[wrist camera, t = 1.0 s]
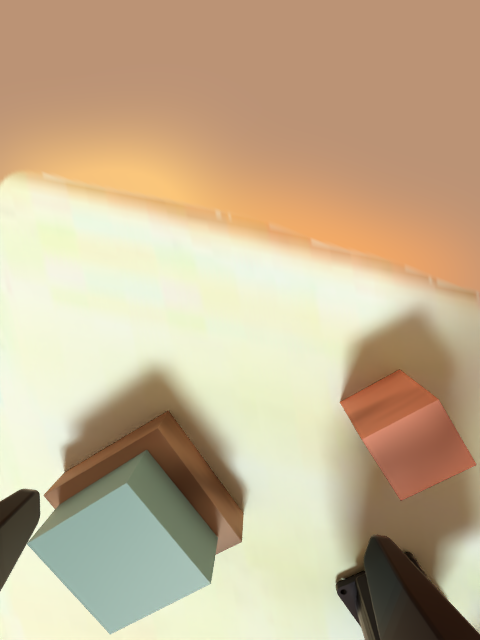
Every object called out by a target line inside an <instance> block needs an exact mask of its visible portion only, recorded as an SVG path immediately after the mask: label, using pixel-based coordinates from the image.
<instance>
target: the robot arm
mask: <svg viewBox="0 0 480 640" xmlns="http://www.w3.org/2000/svg"><path fill="white" fill-rule="evenodd" d="M39 518H40V495H39V492H38V491H37V490H31V489H21V490H19V491H17V492H15V493H14V494H12V495H10V496H9V497H7V498H5V499H4V500H2V501H0V591H1V589H2V587H3V586H4V584H5V582H6V580H7V579H8V577H9V575H10V573H11V571H12V569H13V568H14V566H15V564H16V562H17V560H18V558H19V557H20V555H21V553H22V551H23V549H24V548H25V546H26V544H27V542H28V540H29V538H30V537H31V535H32V533H33V531H34V529H35V528H36V526H37V524H38V521H39ZM364 568H365V571H363V572H360V573H358V574H356V575H354V576H351V577H349V578H347V579H345V580H342V581H340V582H338V583H337V584H336V590H337V594H338V595H339V597H340V598H341V600H342V601H343V602H344V604H345V605H346V607H347V608H348V609H349V611H350V612H351V614H352V615H353V616H354V618H355V619H356V621H357V622H358V623H359V625H360V626H361V628H362V631H363V635H364V638H365V640H480V634H479V633H478V632H477V631H476V630H475V628H474V627H473V626H472V625H471V624H470V623H469V622H468V621H467V620H466V619H465V618H464V617H463V616H462V615H461V614H460V613H459V611H458V610H457V609H456V608H455V607H454V606H453V605H452V604H451V603H450V602H449V601H448V600H447V599H446V598H445V597H444V595H443V594H442V593H441V592H440V591H439V590H438V589H437V588H436V587H435V586H434V585H433V584H432V583H431V582H430V581H429V579H428V577H427V576H426V574H425V573H424V571H423V570H422V568H421V567H420V565H419V564H418V562H417V560H416V559H415V557H414V556H413V555H412V554H411V553H403V552H402V551H401V550H400V549H399V548H398V547H397V545H396V544H395V543H394V542H393V541H392V540H391V539H390V538H388V537H387V536H381V535H372V536H371V538H370V541H369V544H368V547H367V550H366V553H365V556H364Z"/></svg>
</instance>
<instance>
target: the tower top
mask: <svg viewBox="0 0 480 640" xmlns="http://www.w3.org/2000/svg"><path fill="white" fill-rule="evenodd" d="M217 541H218V537H217V536H216V534H215V533H214V532H213V531H212V530H211V528H210V527H209V526H208V525H207V523H206V522H205V521H204V520H203V518H202V517H201V516H200V515H199V513H198V512H197V511H196V510H195V509H194V507H193V506H192V505H191V504H190V502H189V501H188V500H187V499H186V497H185V496H184V495H183V494H182V492H181V491H180V490H179V489H178V487H177V486H176V485H175V484H174V483H173V481H172V480H171V479H170V478H169V476H168V475H167V474H166V473H165V471H164V470H163V469H162V468H161V466H160V465H159V464H158V463H157V462H156V460H155V459H154V458H153V457H152V455H151V454H150V453H149V452H148V450H145V451H144V452H142V453H140V454H139V455H137V456H136V457H134V458H132V459H131V460H129V461H128V462H126V463H124V464H123V465H121V466H120V467H118V468H116V469H115V470H113V471H112V472H110V473H109V474H107V475H105V476H104V477H102V478H101V479H99V480H97V481H96V482H94V483H93V484H91V485H89V486H88V487H86V488H85V489H83V490H82V491H80V492H78V493H77V494H75V495H74V496H72V497H71V498H69V499H67V500H66V501H64V502H63V503H61V504H59V506H58V507H57V508H56V509H55V510H54V512H53V513H52V514H51V515H50V516H49V518H48V519H47V520H46V521H45V523H44V524H43V525H42V526H41V527H40V529H39V530H38V531H37V532H36V533H35V535H34V536H33V537H32V538H31V539H30V541H29V542H28V543H27V545H28V546H29V547H30V548H31V549H32V550H33V551H34V552H35V553H36V554H37V555H38V557H39V558H40V559H41V560H42V561H43V562H44V563H45V564H46V565H47V566H48V567H49V568H50V570H51V571H52V572H53V573H54V574H55V575H56V576H57V577H58V578H59V579H60V580H61V582H62V583H63V584H64V585H65V586H66V587H67V588H68V589H69V590H70V591H71V592H72V593H73V595H74V596H75V597H76V598H77V599H78V600H79V601H80V602H81V603H82V604H83V605H84V607H85V608H86V609H87V610H88V611H89V612H90V613H91V614H92V615H93V616H94V617H95V618H96V620H97V621H98V622H99V623H100V624H101V625H102V626H103V627H104V628H105V629H106V630H107V632H108V633H109V634H112V633H114V632H116V631H118V630H120V629H122V628H124V627H126V626H128V625H130V624H132V623H134V622H136V621H138V620H140V619H142V618H144V617H146V616H148V615H150V614H152V613H154V612H156V611H158V610H160V609H162V608H164V607H166V606H168V605H170V604H172V603H174V602H176V601H177V600H179V599H181V598H183V597H185V596H187V595H189V594H191V593H193V592H195V591H197V590H199V589H201V588H203V587H205V586H207V585H209V584H211V579H212V573H213V567H214V560H215V554H216V548H217Z"/></svg>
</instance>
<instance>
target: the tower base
mask: <svg viewBox="0 0 480 640" xmlns="http://www.w3.org/2000/svg"><path fill="white" fill-rule="evenodd" d="M145 450H148V452H149V453H150V454H151V455H152V457H153V458H154V459H155V460H156V462H157V463H158V464H159V465H160V466H161V468H162V469H163V470H164V471H165V473H166V474H167V475H168V476H169V478H170V479H171V480H172V481H173V483H174V484H175V485H176V486H177V487H178V489H179V490H180V491H181V492H182V494H183V495H184V496H185V497H186V499H187V500H188V501H189V502H190V504H191V505H192V506H193V507H194V509H195V510H196V511H197V512H198V513H199V515H200V516H201V517H202V518H203V520H204V521H205V522H206V523H207V525H208V526H209V527H210V528H211V530H212V531H213V532H214V533H215V534H216V536H217V537H218V541H217V548H216V554H218V553H220V552H222V551H224V550H226V549H228V548H230V547H232V546H234V545H236V544H239V543H241V542H242V530H243V512H242V511H241V509H240V508H239V507H238V505H237V504H236V503H235V501H234V500H233V498H232V497H231V496H230V494H229V493H228V492H227V490H226V489H225V488H224V486H223V485H222V483H221V482H220V481H219V479H218V478H217V477H216V475H215V474H214V472H213V471H212V470H211V468H210V467H209V466H208V464H207V463H206V461H205V460H204V459H203V457H202V456H201V455H200V453H199V452H198V450H197V449H196V448H195V446H194V445H193V444H192V442H191V441H190V439H189V438H188V437H187V435H186V434H185V433H184V431H183V430H182V428H181V427H180V426H179V424H178V423H177V422H176V420H175V419H174V418H173V416H172V415H171V413H170V412H169V411H167V412H165V413H163V414H162V415H160V416H158V417H157V418H155V419H153V420H152V421H150V422H148V423H147V424H145V425H143V426H142V427H140V428H138V429H137V430H135V431H133V432H131V433H130V434H128V435H126V436H125V437H123V438H121V439H120V440H118V441H116V442H115V443H113V444H111V445H110V446H108V447H106V448H105V449H103V450H101V451H100V452H98V453H96V454H95V455H93V456H91V457H89V458H88V459H86V460H84V461H83V462H81V463H79V464H78V465H76V466H74V467H73V468H71V469H69V470H68V471H66V472H64V474H63V475H62V476H61V477H60V478H59V479H58V480H57V481H56V482H55V483H54V484H53V486H52V487H51V488H50V489H49V490H48V491H47V492H46V493H45V494H44V496H45V498H46V499H47V500H48V501H49V502H50V504H51V505H52V506H53V507H54V508H55V509H56V508H57V507H58V506H59V504H61V503H63V502H64V501H66V500H67V499H69V498H71V497H72V496H74V495H75V494H77V493H78V492H80V491H82V490H83V489H85V488H86V487H88V486H89V485H91V484H93V483H94V482H96V481H97V480H99V479H101V478H102V477H104V476H105V475H107V474H109V473H110V472H112V471H113V470H115V469H116V468H118V467H120V466H121V465H123V464H124V463H126V462H128V461H129V460H131V459H132V458H134V457H136V456H137V455H139V454H140V453H142V452H144V451H145ZM216 554H215V555H216Z"/></svg>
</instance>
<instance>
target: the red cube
mask: <svg viewBox="0 0 480 640" xmlns="http://www.w3.org/2000/svg"><path fill="white" fill-rule="evenodd" d="M340 403H341V405H342V407H343V408H344V410H345V412H346V413H347V415H348V417H349V419H350V420H351V422H352V424H353V425H354V427H355V429H356V431H357V432H358V434H359V436H360V437H361V439H362V441H363V442H364V444H365V445H366V447H367V449H368V450H369V452H370V453H371V455H372V456H373V458H374V460H375V461H376V463H377V464H378V466H379V467H380V469H381V471H382V472H383V474H384V475H385V477H386V478H387V480H388V482H389V483H390V485H391V486H392V488H393V489H394V491H395V493H396V494H397V496H398V497H399V499H400V500H401V501H402V500H404V499H406V498H408V497H410V496H412V495H414V494H416V493H418V492H421V491H423V490H425V489H427V488H429V487H431V486H433V485H435V484H437V483H440V482H442V481H444V480H446V479H448V478H450V477H452V476H454V475H456V474H458V473H461V472H463V471H465V470H467V469H469V468H471V467H473V466H475V465H476V463H475V461H474V459H473V458H472V456H471V454H470V453H469V451H468V449H467V447H466V446H465V444H464V442H463V440H462V439H461V437H460V435H459V434H458V432H457V430H456V428H455V427H454V425H453V423H452V421H451V420H450V418H449V416H448V415H447V413H446V411H445V409H444V408H443V406H442V404H441V403H440V401H439V399H438V398H436V397H435V396H434V395H432V394H431V393H430V392H428V391H427V390H426V389H424V388H423V387H422V386H421V385H419V384H418V383H417V382H415V381H414V380H413V379H411V378H410V377H409V376H408V375H406V374H405V373H404V372H402V371H401V370H398V371H396V372H394V373H392V374H390V375H389V376H387V377H385V378H383V379H381V380H379V381H378V382H376V383H374V384H372V385H370V386H368V387H367V388H365V389H363V390H361V391H359V392H358V393H356V394H354V395H352V396H350V397H348V398H347V399H345V400H343V401H341V402H340Z"/></svg>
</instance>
